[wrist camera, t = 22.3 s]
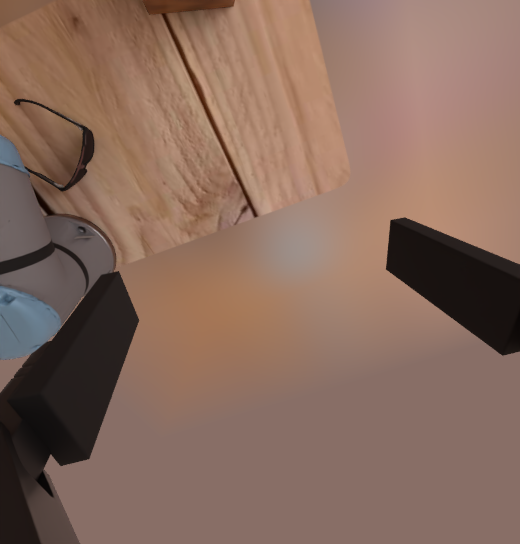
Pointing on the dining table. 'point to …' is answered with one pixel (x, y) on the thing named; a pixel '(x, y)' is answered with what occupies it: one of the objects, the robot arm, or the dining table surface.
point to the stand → (183, 5)
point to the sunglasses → (85, 152)
